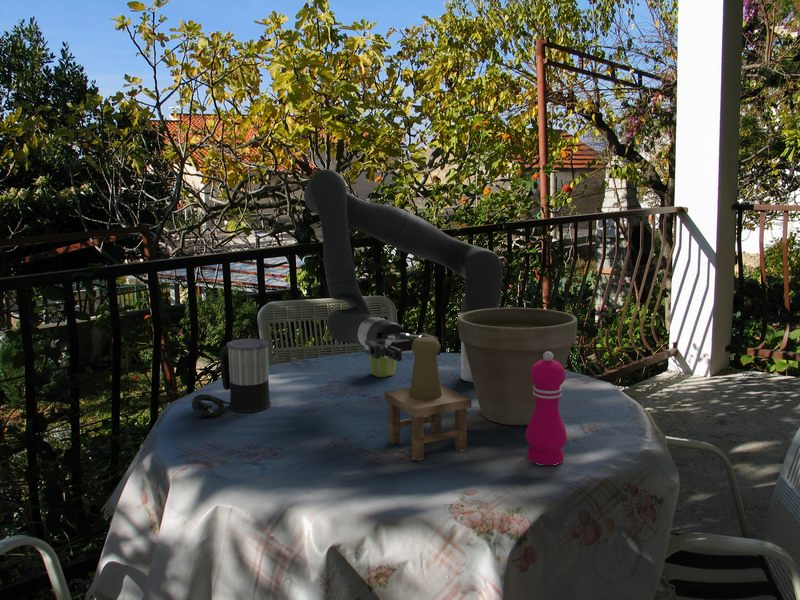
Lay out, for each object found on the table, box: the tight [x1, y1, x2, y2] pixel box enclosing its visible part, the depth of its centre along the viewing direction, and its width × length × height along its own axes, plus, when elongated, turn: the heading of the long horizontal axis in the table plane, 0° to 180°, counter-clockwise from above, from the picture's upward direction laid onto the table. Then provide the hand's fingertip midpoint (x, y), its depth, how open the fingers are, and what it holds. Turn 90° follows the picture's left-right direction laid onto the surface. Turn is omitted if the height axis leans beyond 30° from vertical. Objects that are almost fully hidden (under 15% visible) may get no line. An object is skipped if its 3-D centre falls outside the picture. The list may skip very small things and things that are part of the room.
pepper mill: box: [525, 351, 568, 465], centre depth 124 cm, size 7×7×20 cm
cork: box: [410, 337, 442, 400], centre depth 130 cm, size 6×6×11 cm
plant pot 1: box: [368, 354, 397, 378], centre depth 181 cm, size 9×9×9 cm
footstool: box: [383, 383, 472, 461], centre depth 131 cm, size 12×12×10 cm
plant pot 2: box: [457, 307, 578, 426], centre depth 148 cm, size 25×25×22 cm
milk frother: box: [191, 338, 272, 417], centre depth 153 cm, size 14×16×15 cm
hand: (419, 352), depth 132 cm, fingers open, 8 cm apart
